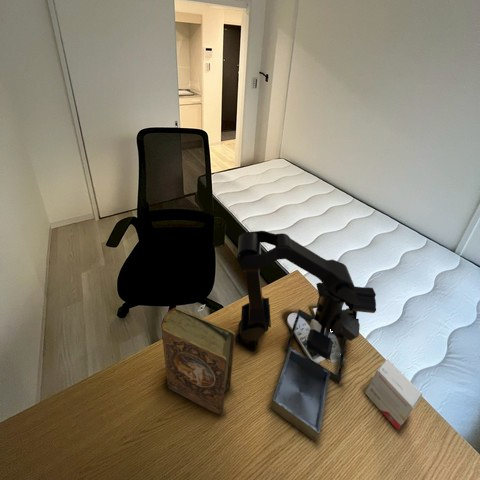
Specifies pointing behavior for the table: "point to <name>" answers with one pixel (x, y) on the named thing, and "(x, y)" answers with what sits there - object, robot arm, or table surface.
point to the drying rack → (308, 317)
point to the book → (197, 358)
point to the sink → (302, 393)
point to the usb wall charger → (315, 325)
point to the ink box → (393, 393)
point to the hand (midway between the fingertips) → (318, 336)
